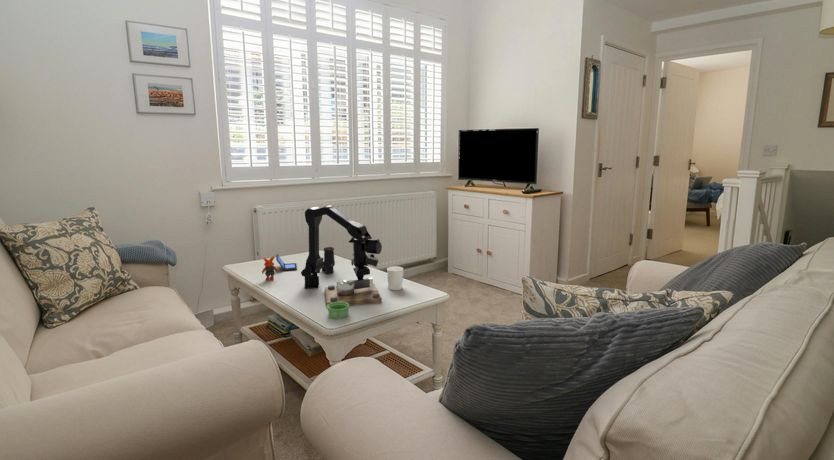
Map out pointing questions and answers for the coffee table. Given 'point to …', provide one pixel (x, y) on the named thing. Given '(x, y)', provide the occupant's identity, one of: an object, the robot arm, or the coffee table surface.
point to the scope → (328, 260)
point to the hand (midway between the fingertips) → (361, 283)
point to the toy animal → (269, 268)
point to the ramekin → (338, 310)
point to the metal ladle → (352, 285)
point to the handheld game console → (286, 265)
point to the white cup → (395, 277)
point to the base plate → (353, 296)
